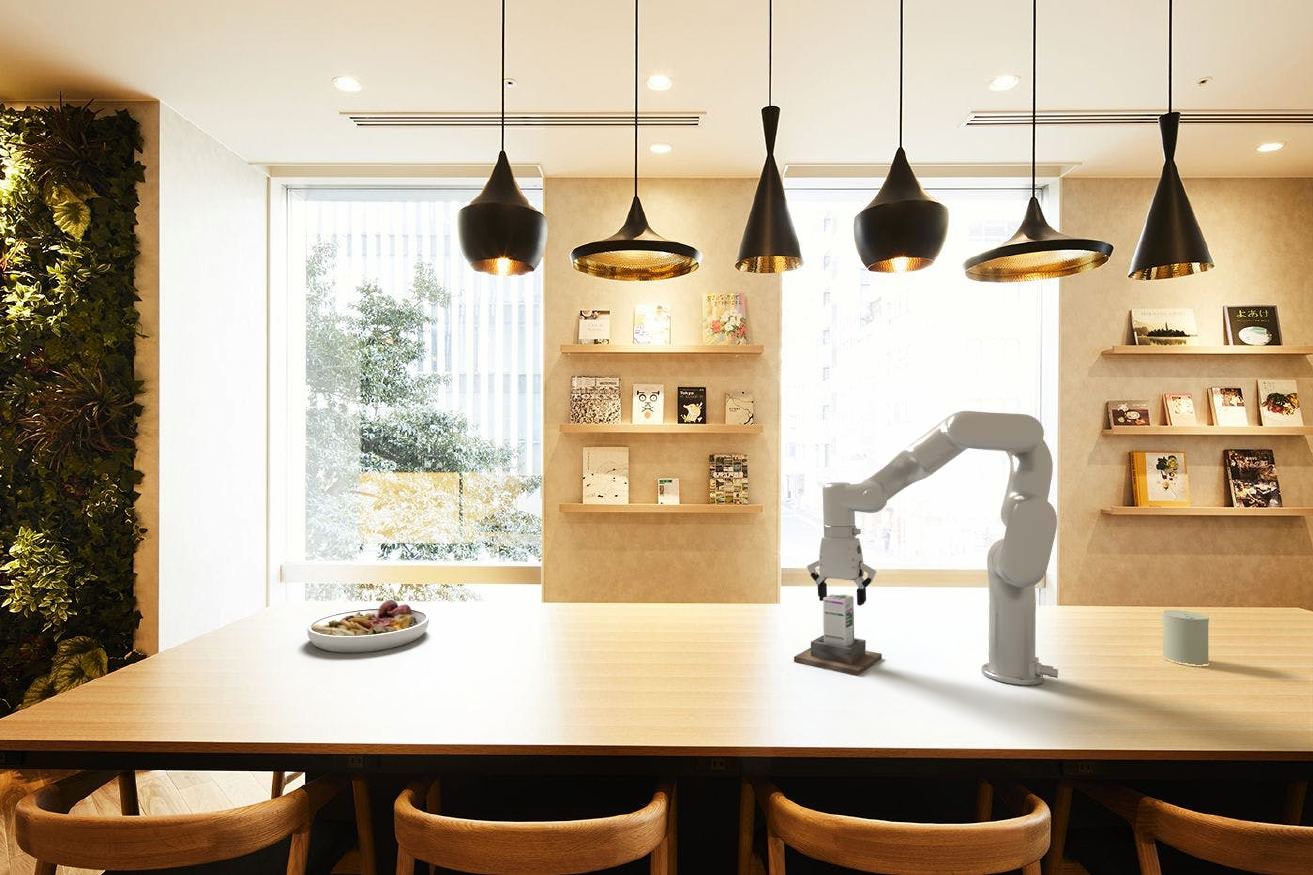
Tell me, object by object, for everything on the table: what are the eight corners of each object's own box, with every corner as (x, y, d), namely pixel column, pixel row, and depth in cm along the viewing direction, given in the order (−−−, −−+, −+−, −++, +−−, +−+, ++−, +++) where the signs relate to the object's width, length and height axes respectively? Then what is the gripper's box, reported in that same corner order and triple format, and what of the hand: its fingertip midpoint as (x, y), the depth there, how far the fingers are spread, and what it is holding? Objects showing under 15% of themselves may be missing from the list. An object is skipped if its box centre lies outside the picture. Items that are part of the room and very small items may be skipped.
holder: (881, 658, 167) (881, 639, 167) (858, 675, 154) (858, 655, 154) (821, 646, 176) (821, 628, 176) (794, 661, 164) (794, 642, 164)
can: (1166, 663, 165) (1166, 614, 165) (1158, 653, 173) (1158, 606, 173) (1213, 669, 161) (1213, 619, 161) (1203, 658, 169) (1203, 611, 169)
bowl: (404, 657, 166) (404, 625, 166) (283, 656, 166) (283, 624, 166) (443, 625, 196) (443, 598, 196) (340, 624, 196) (341, 597, 196)
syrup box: (845, 660, 161) (846, 599, 161) (822, 655, 165) (822, 596, 165) (854, 654, 166) (854, 595, 166) (831, 650, 169) (832, 592, 169)
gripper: (879, 532, 163) (882, 603, 163) (813, 529, 174) (815, 595, 173) (868, 536, 157) (871, 609, 157) (800, 532, 168) (802, 601, 167)
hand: (841, 602), depth 165 cm, fingers open, 9 cm apart
